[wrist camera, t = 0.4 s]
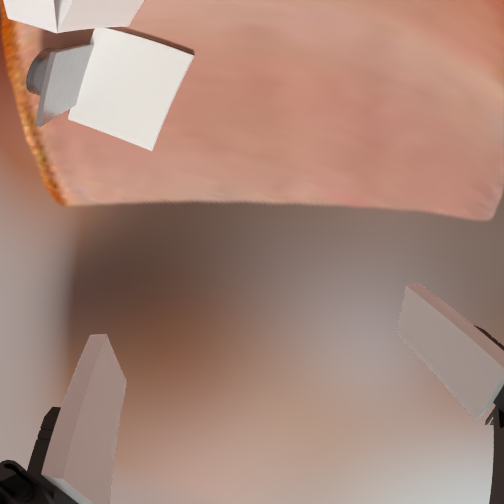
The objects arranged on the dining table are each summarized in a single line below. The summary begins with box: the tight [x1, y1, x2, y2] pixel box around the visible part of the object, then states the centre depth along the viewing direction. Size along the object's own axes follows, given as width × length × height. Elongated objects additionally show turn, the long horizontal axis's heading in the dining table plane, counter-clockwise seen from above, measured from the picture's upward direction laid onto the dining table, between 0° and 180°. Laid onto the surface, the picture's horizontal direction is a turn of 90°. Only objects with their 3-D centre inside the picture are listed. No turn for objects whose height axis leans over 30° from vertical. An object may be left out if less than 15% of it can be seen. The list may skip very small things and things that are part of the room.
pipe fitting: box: [26, 43, 94, 127], centre depth 24 cm, size 6×9×9 cm, turn 151°
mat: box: [68, 27, 195, 151], centre depth 30 cm, size 14×14×1 cm
